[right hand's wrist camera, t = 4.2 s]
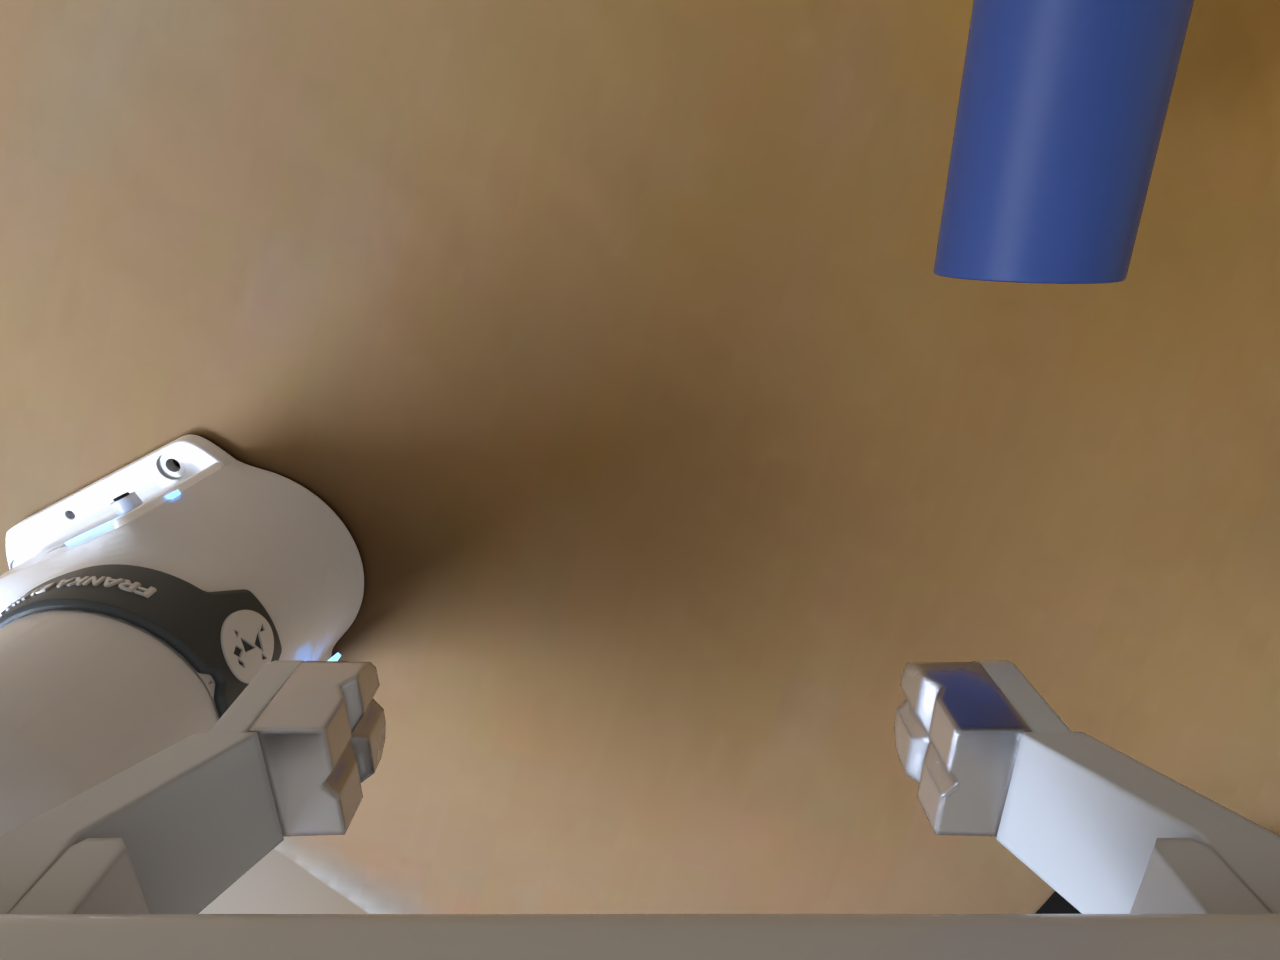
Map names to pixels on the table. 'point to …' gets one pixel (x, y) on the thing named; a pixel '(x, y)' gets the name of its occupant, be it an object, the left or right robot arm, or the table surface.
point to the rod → (1057, 137)
